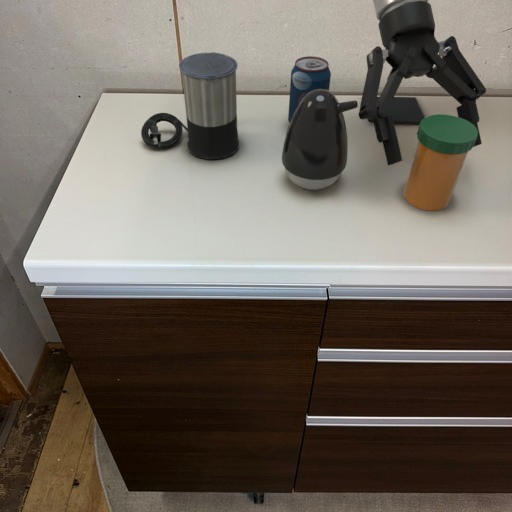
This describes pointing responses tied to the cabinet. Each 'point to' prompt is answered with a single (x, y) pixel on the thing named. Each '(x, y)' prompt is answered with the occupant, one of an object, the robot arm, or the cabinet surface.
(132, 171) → the cabinet surface
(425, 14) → the robot arm
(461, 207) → the cabinet surface
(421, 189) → the jar
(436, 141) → the jar lid
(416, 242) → the cabinet surface
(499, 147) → the cabinet surface
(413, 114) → the mat
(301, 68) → the soda can
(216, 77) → the milk frother
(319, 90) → the pump dispenser
